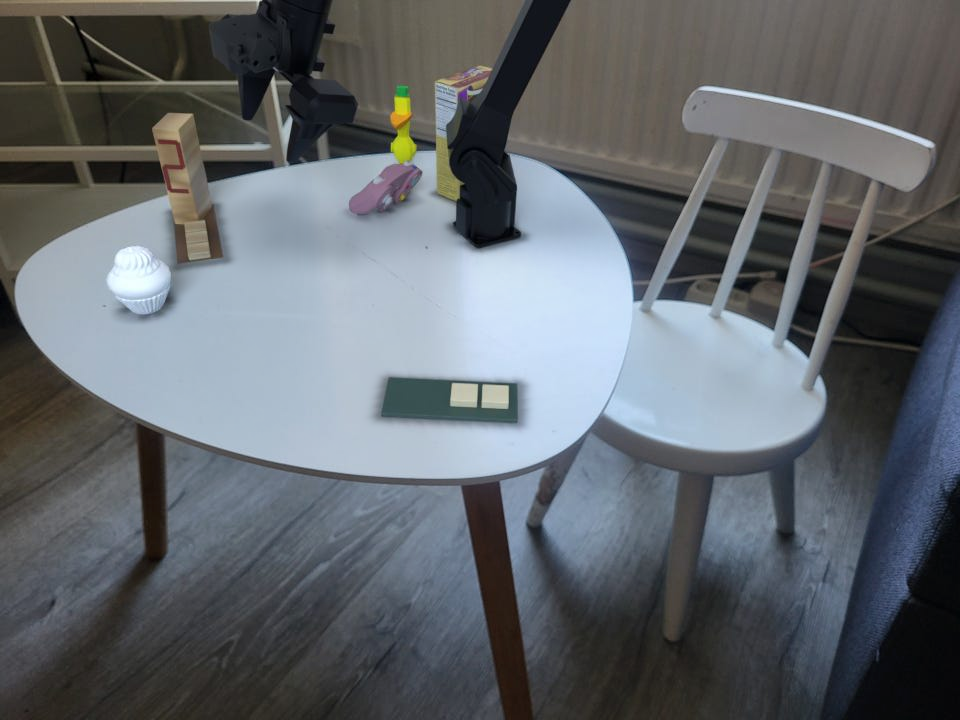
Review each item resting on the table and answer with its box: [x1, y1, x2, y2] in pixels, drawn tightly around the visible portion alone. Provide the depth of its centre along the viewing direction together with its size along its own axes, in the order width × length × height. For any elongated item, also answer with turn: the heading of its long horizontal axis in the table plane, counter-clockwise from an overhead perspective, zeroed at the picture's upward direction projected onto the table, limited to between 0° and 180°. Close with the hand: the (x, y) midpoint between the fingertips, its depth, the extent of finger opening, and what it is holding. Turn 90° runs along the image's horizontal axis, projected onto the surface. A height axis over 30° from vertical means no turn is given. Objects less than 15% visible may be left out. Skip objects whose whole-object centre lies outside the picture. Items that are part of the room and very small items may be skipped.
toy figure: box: [389, 85, 418, 164], centre depth 102 cm, size 7×4×12 cm, turn 172°
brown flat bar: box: [172, 203, 224, 265], centre depth 90 cm, size 14×5×1 cm, turn 20°
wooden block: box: [151, 112, 213, 224], centre depth 89 cm, size 3×5×12 cm, turn 178°
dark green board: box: [381, 376, 518, 424], centre depth 68 cm, size 12×5×1 cm, turn 88°
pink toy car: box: [348, 160, 423, 215], centre depth 96 cm, size 10×5×7 cm, turn 148°
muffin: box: [105, 245, 172, 316], centre depth 76 cm, size 6×6×7 cm
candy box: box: [434, 65, 493, 202], centre depth 98 cm, size 9×4×15 cm, turn 140°
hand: (268, 140), depth 84 cm, fingers open, 9 cm apart
